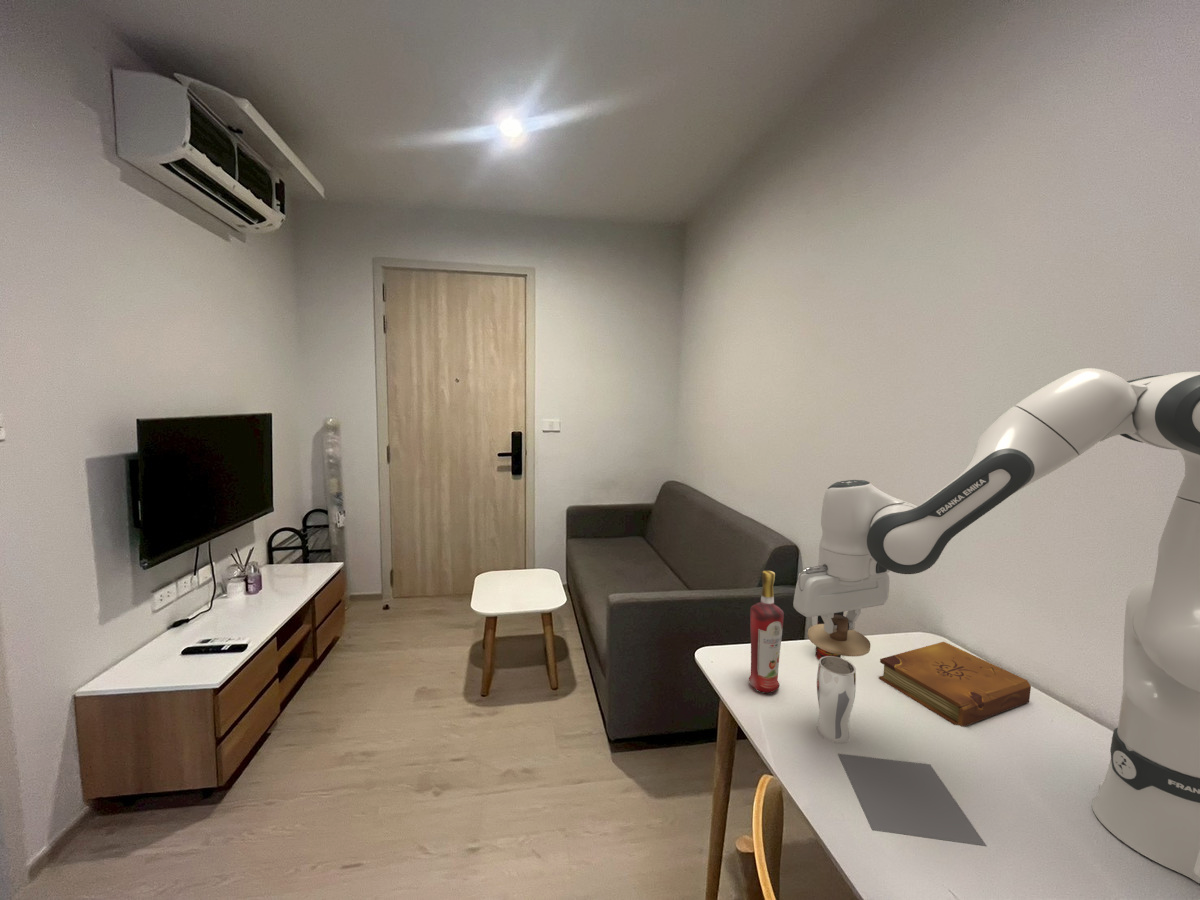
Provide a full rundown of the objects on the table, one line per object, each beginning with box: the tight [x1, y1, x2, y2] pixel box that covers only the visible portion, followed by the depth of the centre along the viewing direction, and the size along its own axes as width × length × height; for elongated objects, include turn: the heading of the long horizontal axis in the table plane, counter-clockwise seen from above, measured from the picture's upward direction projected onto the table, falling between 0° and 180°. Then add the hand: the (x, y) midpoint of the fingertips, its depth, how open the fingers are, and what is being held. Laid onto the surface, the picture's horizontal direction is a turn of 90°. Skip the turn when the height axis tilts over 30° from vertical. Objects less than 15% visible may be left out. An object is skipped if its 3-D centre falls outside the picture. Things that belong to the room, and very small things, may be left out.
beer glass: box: [816, 656, 857, 744], centre depth 94 cm, size 7×7×15 cm
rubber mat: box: [837, 753, 987, 847], centre depth 79 cm, size 16×16×1 cm
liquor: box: [748, 570, 785, 694], centre depth 108 cm, size 7×7×28 cm
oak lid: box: [807, 615, 871, 658], centre depth 92 cm, size 11×11×5 cm
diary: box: [878, 641, 1032, 728], centre depth 109 cm, size 23×19×6 cm
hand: (839, 630), depth 92 cm, fingers closed on oak lid, 3 cm apart
